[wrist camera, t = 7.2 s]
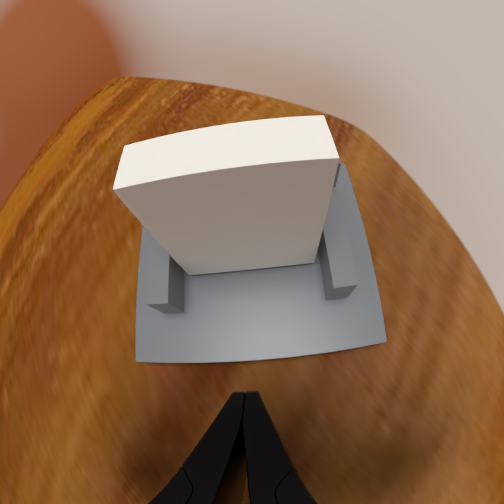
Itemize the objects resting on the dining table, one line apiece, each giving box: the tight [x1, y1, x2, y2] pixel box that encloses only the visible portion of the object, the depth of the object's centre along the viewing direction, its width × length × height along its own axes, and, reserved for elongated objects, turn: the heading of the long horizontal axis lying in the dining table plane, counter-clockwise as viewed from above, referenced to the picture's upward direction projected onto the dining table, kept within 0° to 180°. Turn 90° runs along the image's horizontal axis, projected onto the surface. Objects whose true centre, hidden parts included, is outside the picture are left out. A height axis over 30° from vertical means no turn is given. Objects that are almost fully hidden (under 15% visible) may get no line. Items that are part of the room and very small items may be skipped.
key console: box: [136, 159, 387, 363], centre depth 15 cm, size 12×14×6 cm
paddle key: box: [113, 115, 339, 275], centre depth 12 cm, size 2×7×8 cm, turn 94°
